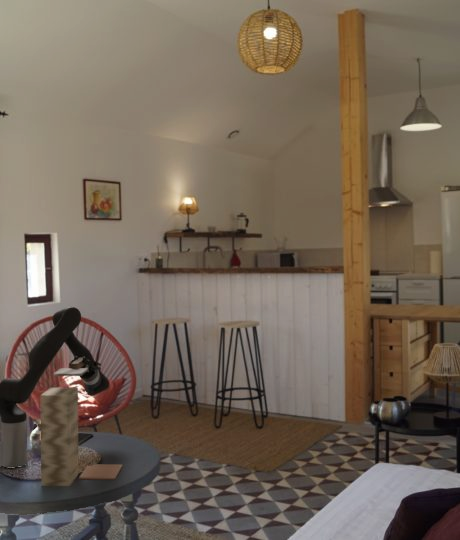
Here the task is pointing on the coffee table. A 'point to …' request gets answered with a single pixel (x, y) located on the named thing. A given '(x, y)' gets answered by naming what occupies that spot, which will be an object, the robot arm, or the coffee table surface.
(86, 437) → the phone
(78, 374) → the turner
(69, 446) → the stand
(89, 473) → the tile
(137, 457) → the coffee table surface
